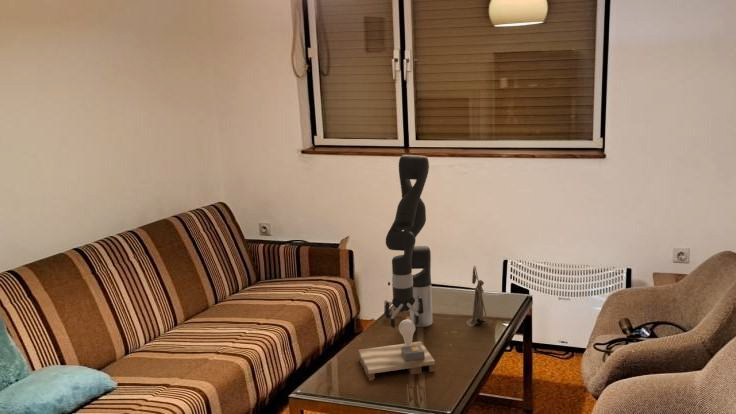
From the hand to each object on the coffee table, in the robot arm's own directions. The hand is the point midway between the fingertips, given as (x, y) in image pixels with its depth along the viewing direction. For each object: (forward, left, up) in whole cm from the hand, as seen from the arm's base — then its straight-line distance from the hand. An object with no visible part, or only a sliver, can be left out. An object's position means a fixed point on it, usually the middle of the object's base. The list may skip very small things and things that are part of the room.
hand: (404, 325), depth 263 cm
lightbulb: (0, +1, -9) cm, 9 cm away
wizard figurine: (-24, +37, -13) cm, 46 cm away
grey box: (+9, 0, -9) cm, 12 cm away
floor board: (+5, -5, -13) cm, 14 cm away
